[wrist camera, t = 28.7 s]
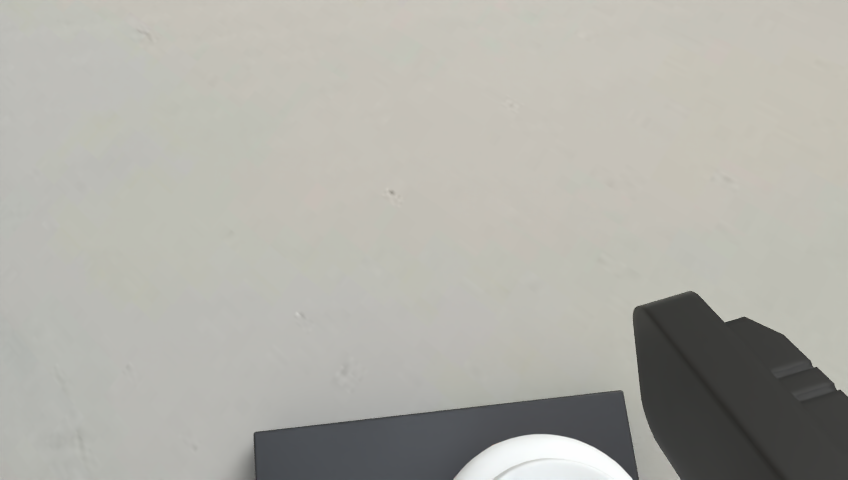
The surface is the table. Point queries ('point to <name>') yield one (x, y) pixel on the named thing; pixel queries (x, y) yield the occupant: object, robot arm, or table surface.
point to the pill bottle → (542, 461)
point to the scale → (439, 439)
